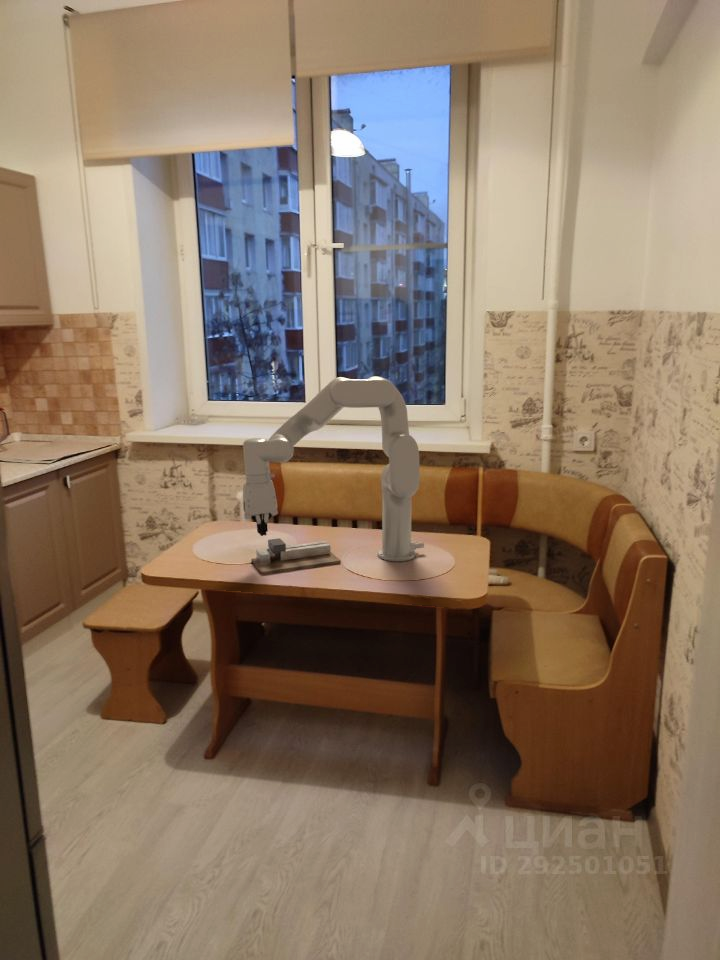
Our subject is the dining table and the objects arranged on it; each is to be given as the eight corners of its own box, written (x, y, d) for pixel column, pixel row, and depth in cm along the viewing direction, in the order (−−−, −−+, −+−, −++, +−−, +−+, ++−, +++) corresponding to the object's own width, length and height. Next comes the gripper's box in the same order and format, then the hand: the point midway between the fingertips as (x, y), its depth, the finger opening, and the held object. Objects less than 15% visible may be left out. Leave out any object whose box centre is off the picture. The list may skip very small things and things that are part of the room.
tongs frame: (324, 549, 225) (324, 540, 224) (331, 555, 220) (331, 545, 219) (256, 559, 216) (256, 549, 215) (261, 565, 211) (261, 555, 210)
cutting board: (326, 551, 226) (326, 548, 226) (340, 563, 215) (340, 560, 215) (251, 561, 217) (251, 558, 216) (261, 575, 205) (261, 572, 205)
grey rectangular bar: (326, 550, 223) (326, 541, 223) (330, 553, 220) (330, 545, 219) (268, 558, 216) (267, 549, 215) (271, 562, 212) (270, 553, 212)
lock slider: (280, 545, 218) (279, 538, 218) (285, 551, 213) (285, 543, 212) (268, 546, 217) (268, 539, 216) (273, 552, 211) (273, 545, 211)
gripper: (277, 473, 214) (282, 527, 218) (231, 479, 208) (236, 535, 212) (284, 477, 207) (288, 533, 211) (237, 483, 201) (242, 541, 206)
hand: (262, 534), depth 212 cm, fingers closed
